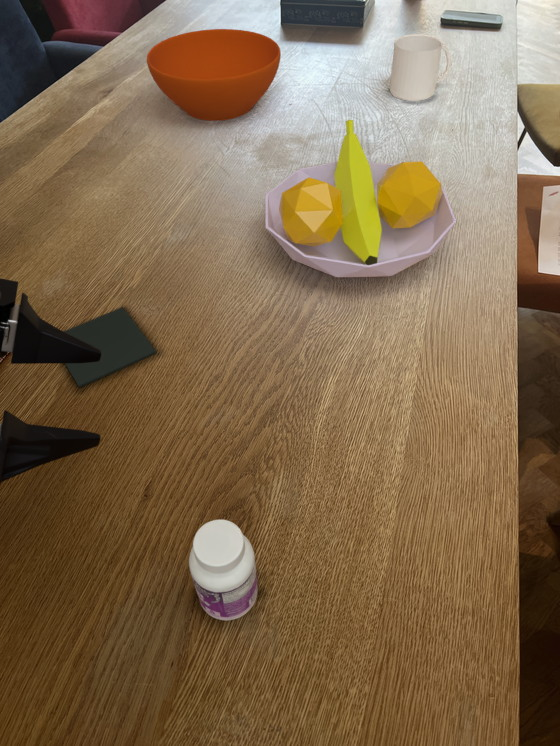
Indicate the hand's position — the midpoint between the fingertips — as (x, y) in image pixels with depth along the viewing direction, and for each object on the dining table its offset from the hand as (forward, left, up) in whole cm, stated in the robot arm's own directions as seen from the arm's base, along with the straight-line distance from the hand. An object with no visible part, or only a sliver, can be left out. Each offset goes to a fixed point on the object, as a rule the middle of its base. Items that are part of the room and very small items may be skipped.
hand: (100, 395), depth 50 cm
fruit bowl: (+46, +22, -16) cm, 53 cm away
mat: (+6, +22, -16) cm, 28 cm away
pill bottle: (+3, -14, -16) cm, 21 cm away
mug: (+88, +54, -16) cm, 104 cm away
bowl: (+52, +73, -16) cm, 91 cm away
